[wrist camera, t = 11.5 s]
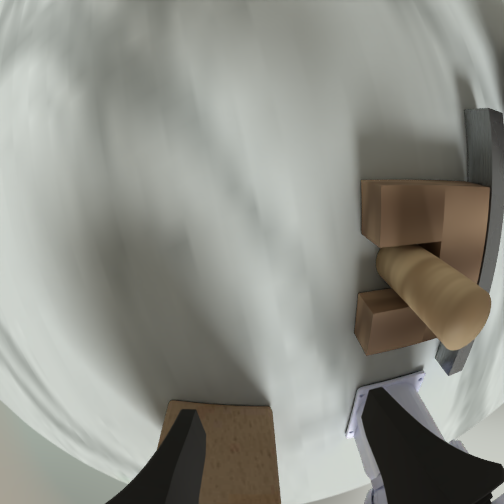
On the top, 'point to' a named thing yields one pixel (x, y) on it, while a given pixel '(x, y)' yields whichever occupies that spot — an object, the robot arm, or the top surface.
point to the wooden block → (234, 453)
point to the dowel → (436, 293)
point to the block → (425, 235)
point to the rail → (500, 202)
